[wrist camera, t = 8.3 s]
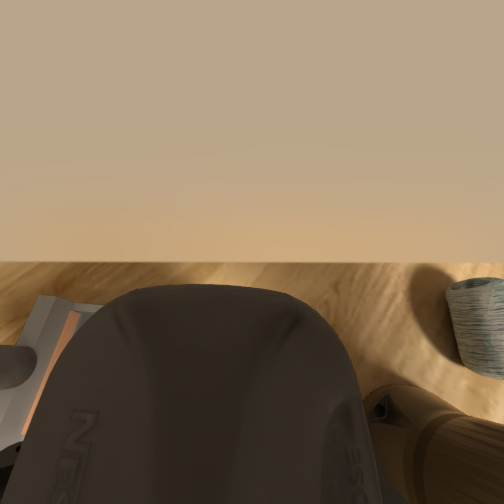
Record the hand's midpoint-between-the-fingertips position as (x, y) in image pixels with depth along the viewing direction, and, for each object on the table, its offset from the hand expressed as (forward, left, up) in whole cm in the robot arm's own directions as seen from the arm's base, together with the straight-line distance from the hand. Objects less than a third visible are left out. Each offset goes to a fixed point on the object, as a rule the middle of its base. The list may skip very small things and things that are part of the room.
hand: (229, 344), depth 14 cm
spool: (-35, -6, -21) cm, 42 cm away
